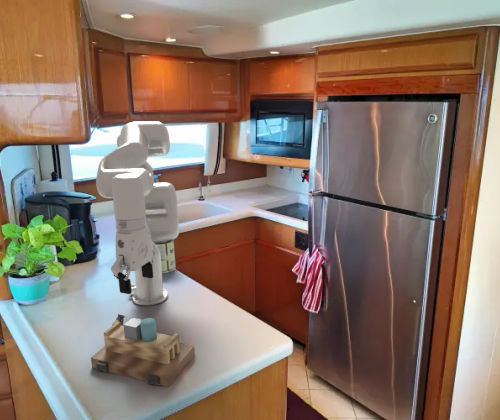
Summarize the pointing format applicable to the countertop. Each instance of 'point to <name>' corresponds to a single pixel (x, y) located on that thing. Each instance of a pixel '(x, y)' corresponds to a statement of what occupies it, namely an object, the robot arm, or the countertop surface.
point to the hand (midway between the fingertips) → (137, 284)
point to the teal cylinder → (148, 330)
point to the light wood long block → (142, 345)
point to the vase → (119, 319)
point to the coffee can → (166, 254)
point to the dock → (144, 365)
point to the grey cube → (133, 329)
